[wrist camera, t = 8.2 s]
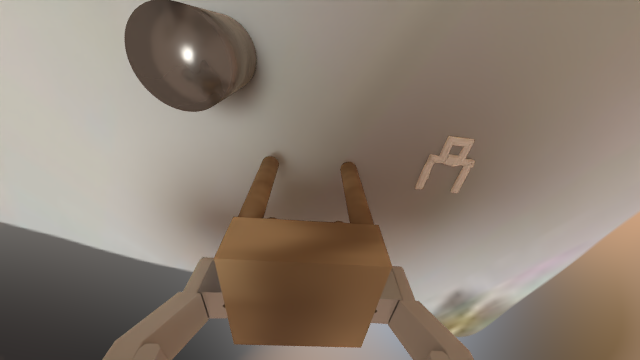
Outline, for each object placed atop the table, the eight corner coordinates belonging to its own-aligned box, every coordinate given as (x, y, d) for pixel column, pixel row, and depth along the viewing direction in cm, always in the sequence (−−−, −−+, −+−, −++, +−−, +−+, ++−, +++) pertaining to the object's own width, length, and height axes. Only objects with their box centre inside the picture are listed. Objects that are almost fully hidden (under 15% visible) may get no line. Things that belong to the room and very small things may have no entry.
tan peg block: (357, 162, 14) (392, 266, 8) (344, 231, 17) (361, 347, 11) (261, 155, 14) (213, 258, 7) (265, 227, 17) (234, 344, 10)
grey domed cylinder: (254, 17, 11) (223, 5, 7) (258, 93, 13) (234, 115, 9) (179, 9, 11) (107, -7, 7) (194, 87, 13) (143, 107, 9)
